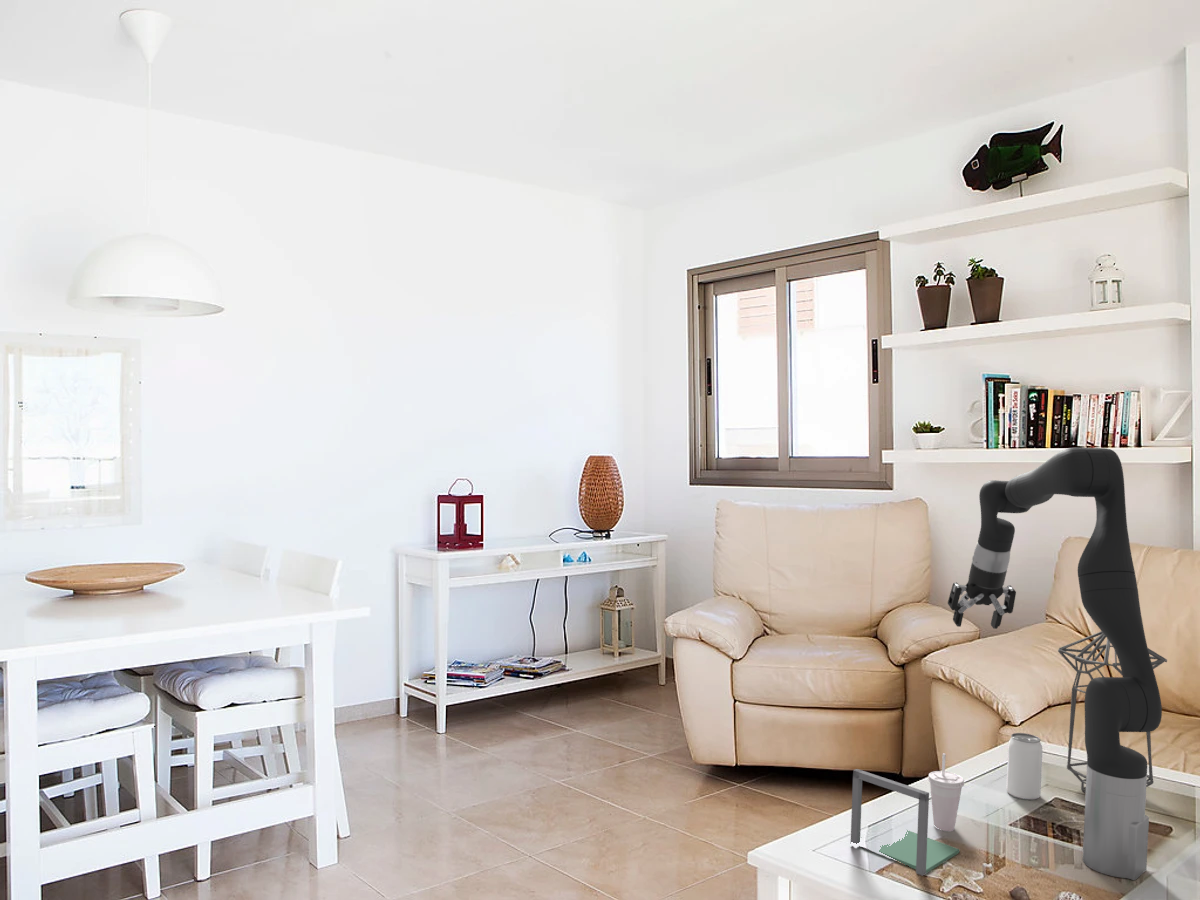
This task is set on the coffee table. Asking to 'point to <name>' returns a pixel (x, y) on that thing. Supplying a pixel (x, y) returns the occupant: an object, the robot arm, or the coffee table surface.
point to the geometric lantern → (1074, 689)
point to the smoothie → (945, 797)
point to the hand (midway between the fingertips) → (975, 626)
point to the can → (1024, 766)
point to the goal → (914, 846)
